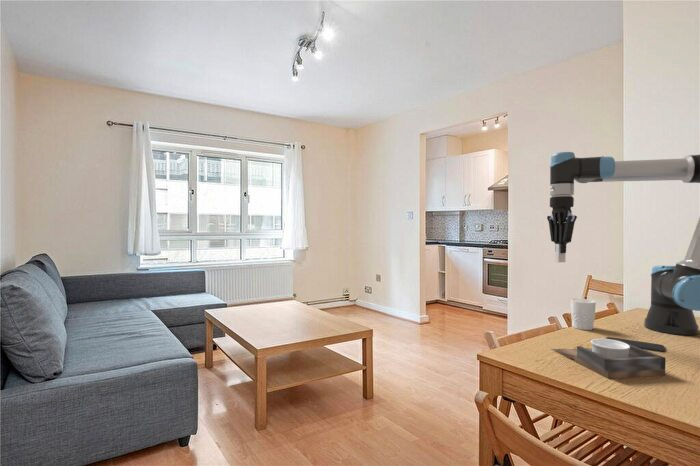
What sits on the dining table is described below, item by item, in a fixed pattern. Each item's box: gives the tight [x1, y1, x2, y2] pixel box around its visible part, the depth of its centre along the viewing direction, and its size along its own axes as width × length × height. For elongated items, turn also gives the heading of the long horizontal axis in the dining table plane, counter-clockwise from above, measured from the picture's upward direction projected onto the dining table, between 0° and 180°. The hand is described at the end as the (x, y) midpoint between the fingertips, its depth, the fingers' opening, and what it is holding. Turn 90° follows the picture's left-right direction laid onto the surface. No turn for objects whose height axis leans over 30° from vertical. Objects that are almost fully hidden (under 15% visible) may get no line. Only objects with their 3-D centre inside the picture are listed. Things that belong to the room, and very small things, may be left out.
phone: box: [605, 336, 666, 353], centre depth 123 cm, size 7×1×15 cm
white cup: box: [570, 298, 597, 331], centre depth 142 cm, size 8×8×10 cm
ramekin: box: [590, 338, 630, 359], centre depth 106 cm, size 9×9×4 cm
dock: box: [550, 344, 667, 379], centre depth 109 cm, size 16×22×6 cm
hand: (560, 262), depth 139 cm, fingers closed
